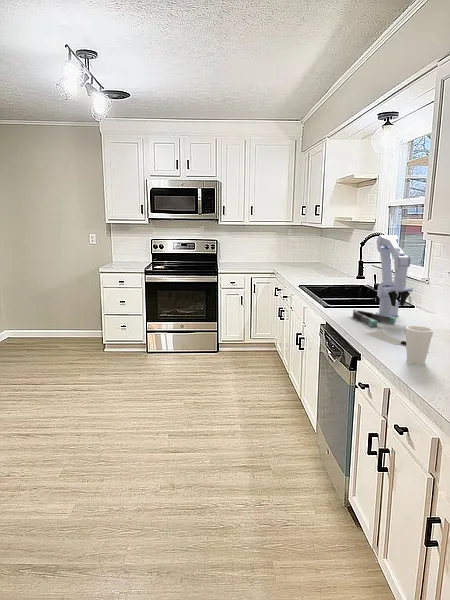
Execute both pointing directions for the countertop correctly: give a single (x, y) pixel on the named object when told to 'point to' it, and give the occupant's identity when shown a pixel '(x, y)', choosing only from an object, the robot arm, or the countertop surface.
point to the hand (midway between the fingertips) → (397, 305)
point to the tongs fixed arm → (365, 319)
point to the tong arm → (377, 317)
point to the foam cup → (417, 343)
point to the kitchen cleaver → (386, 338)
